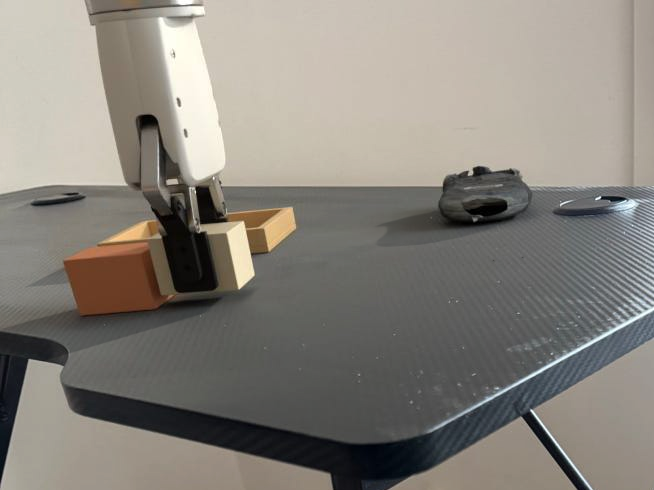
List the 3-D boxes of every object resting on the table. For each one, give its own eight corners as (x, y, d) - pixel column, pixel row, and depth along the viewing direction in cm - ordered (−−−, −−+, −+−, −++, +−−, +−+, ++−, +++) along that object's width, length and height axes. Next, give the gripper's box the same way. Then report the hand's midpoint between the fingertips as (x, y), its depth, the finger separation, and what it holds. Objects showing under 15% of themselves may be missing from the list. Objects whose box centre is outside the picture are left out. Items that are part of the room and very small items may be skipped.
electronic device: (436, 221, 101) (438, 222, 87) (437, 164, 99) (439, 156, 85) (521, 224, 102) (536, 226, 88) (524, 168, 99) (540, 160, 86)
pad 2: (161, 296, 69) (146, 239, 67) (181, 281, 74) (168, 226, 71) (238, 290, 69) (226, 232, 67) (255, 275, 73) (244, 220, 71)
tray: (103, 267, 88) (96, 243, 87) (148, 242, 98) (142, 221, 97) (269, 252, 86) (264, 227, 85) (296, 228, 97) (292, 206, 96)
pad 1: (79, 316, 70) (62, 260, 68) (104, 300, 75) (88, 247, 72) (155, 309, 70) (140, 253, 68) (176, 293, 74) (162, 240, 72)
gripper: (133, 3, 69) (193, 262, 79) (31, -4, 54) (121, 314, 64) (231, -7, 68) (280, 256, 78) (155, -16, 54) (226, 306, 64)
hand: (207, 279), depth 71 cm, fingers closed on pad 2, 5 cm apart
